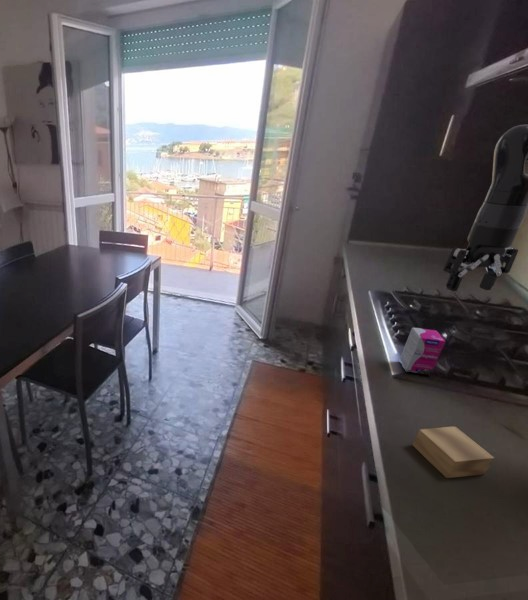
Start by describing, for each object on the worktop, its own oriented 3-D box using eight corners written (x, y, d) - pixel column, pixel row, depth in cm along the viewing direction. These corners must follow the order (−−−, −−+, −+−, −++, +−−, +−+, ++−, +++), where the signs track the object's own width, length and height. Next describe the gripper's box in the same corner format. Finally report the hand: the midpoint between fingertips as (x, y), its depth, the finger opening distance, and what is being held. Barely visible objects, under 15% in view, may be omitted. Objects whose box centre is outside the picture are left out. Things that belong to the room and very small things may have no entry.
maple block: (447, 441, 75) (455, 426, 73) (484, 474, 68) (494, 457, 66) (412, 445, 75) (419, 429, 73) (446, 478, 68) (455, 461, 66)
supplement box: (405, 373, 97) (419, 337, 92) (398, 361, 102) (411, 326, 97) (430, 377, 95) (446, 340, 90) (422, 364, 100) (436, 329, 95)
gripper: (482, 228, 76) (453, 296, 83) (545, 226, 77) (511, 294, 84) (451, 220, 83) (427, 284, 90) (509, 218, 83) (481, 282, 90)
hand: (467, 289), depth 87 cm, fingers open, 8 cm apart
